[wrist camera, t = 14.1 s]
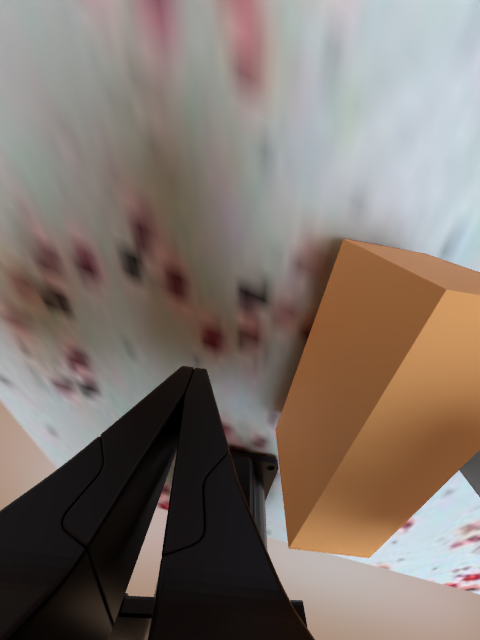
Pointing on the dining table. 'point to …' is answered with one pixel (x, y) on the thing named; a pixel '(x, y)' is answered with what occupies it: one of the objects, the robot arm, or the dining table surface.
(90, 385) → the dining table surface
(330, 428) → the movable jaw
